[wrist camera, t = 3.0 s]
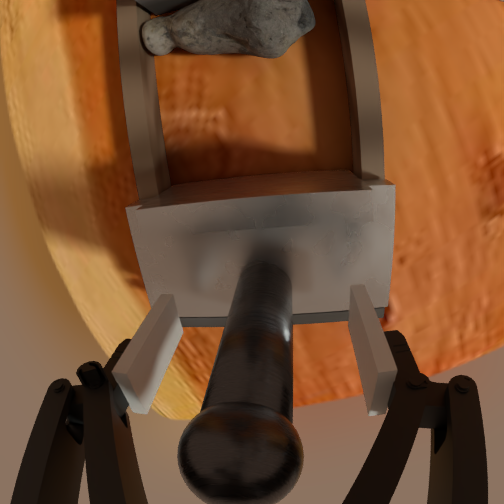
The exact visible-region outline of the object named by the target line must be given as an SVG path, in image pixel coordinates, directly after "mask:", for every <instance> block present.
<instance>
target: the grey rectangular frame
mask: <svg viewBox="0 0 504 504" xmlns="http://www.w3.org/2000/svg"><path fill="white" fill-rule="evenodd" d="M197 1H199V0H117V29H118V46H119V60H120V71H121V82H122V91H123V100H124V108H125V116H126V124H127V131H128V137H129V144H130V150H131V157H132V163H133V168H134V174H135V179H136V185H137V190H138V195H139V200H141V199H148V198H155V197H156V196H158V195H159V194H161V193H162V192H164V191H166V190H167V189H169V188H170V187H171V182H170V176H169V170H168V164H167V158H166V151H165V144H164V138H163V131H162V123H161V116H160V108H159V100H158V92H157V83H156V74H155V64H154V54H153V53H152V52H151V51H149V50H148V49H147V47H146V46H145V44H144V41H143V37H142V28H143V26H144V24H145V23H146V22H147V21H149V20H151V16H150V11H151V12H152V13H154V14H155V15H161V14H164V13H168V12H172V11H175V10H179V9H182V8H184V7H186V6H188V5H190V4H193V3H195V2H197ZM334 4H335V10H336V15H337V20H338V26H339V32H340V38H341V45H342V51H343V58H344V66H345V74H346V82H347V91H348V100H349V111H350V122H351V135H352V151H353V170H354V175H355V176H357V177H358V178H359V179H361V180H370V179H385V178H384V145H383V128H382V114H381V102H380V92H379V83H378V74H377V66H376V59H375V52H374V46H373V40H372V34H371V28H370V23H369V17H368V12H367V7H366V3H365V0H334ZM374 309H375V312H376V314H377V317H378V318H383V317H384V309H385V308H384V307H378V308H374ZM227 317H228V316H224V317H179V318H180V322H181V325H182V327H225V324H226V320H227ZM339 321H349V310H344V311H331V312H316V313H300V314H293V324H311V323H326V322H339Z"/></svg>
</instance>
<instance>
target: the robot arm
mask: <svg viewBox="0 0 504 504" xmlns="http://www.w3.org/2000/svg"><path fill="white" fill-rule="evenodd" d="M348 327H349V331H350V335H351V339H352V343H353V348H354V352H355V356H356V360H357V365H358V369H359V374H360V378H361V383H362V387H363V392H364V397H365V402H366V406H367V411H368V416H373V415H380V414H385V413H386V410H387V407H388V409H389V410H388V413H387V415H386V418H385V420H384V422H383V425H382V427H381V429H380V432H379V434H378V436H377V438H376V440H375V442H374V444H373V447H372V449H371V451H370V453H369V455H368V457H367V459H366V461H365V463H364V465H363V467H362V469H361V471H360V473H359V475H358V477H357V478H356V480H355V482H354V484H353V486H352V487H351V489H350V491H349V493H348V494H347V496H346V498H345V500H344V501H343V503H342V504H389V502H390V500H391V497H392V496H393V494H394V491H395V489H396V487H397V485H398V482H399V480H400V477H401V475H402V472H403V470H404V467H405V465H406V462H407V460H408V457H409V454H410V452H411V449H412V446H413V443H414V440H415V437H416V434H417V431H418V428H431V457H430V476H429V490H428V500H427V504H488V476H487V458H486V447H485V436H484V428H483V420H482V414H481V407H480V401H479V395H478V390H477V386H476V383H475V381H474V380H472V378H470V377H468V376H464V375H458V376H455V377H453V378H452V379H451V380H450V381H449V383H436V382H431V381H430V380H429V378H428V377H427V376H426V375H424V374H422V373H420V371H419V369H418V367H417V364H416V362H415V360H414V357H413V355H412V353H411V351H410V348H409V346H408V343H407V341H406V339H405V337H404V336H403V335H402V334H401V333H400V332H399V331H398V330H394V331H386V332H383V329H382V327H381V324H380V322H379V319H378V317H377V314H376V312H375V309H374V307H373V304H372V302H371V299H370V297H369V294H368V292H367V290H366V287H365V285H364V284H358V285H350V305H349V322H348ZM182 334H183V329H182V325H181V322H180V318H179V315H178V311H177V307H176V303H175V300H174V296H173V294H161V295H160V296H159V298H158V299H157V301H156V302H155V304H154V305H153V307H152V308H151V310H150V312H149V313H148V315H147V316H146V318H145V319H144V321H143V322H142V324H141V325H140V327H139V329H138V330H137V332H136V333H135V335H134V336H133V338H132V339H125V340H124V341H123V342H122V343H120V344H119V345H118V347H117V348H116V350H115V352H114V353H113V354H112V356H111V358H110V359H109V361H108V362H107V364H106V365H105V367H104V368H102V366H101V364H100V363H99V362H95V361H90V362H87V363H84V364H83V365H81V366H80V367H79V368H78V369H77V372H76V374H77V376H78V377H79V379H80V381H81V383H82V385H75V386H72V385H71V383H70V382H69V380H67V379H63V378H62V379H58V380H56V381H54V382H53V383H51V385H50V386H49V388H48V390H47V393H46V395H45V397H44V400H43V403H42V405H41V408H40V410H39V413H38V416H37V418H36V421H35V424H34V427H33V429H32V432H31V435H30V438H29V441H28V444H27V447H26V450H25V453H24V456H23V459H22V463H21V466H20V470H19V473H18V477H17V480H16V484H15V488H14V492H13V495H12V500H11V504H78V498H79V491H80V484H81V477H82V472H83V467H84V461H86V473H87V483H88V491H89V499H90V504H148V502H147V499H146V495H145V491H144V487H143V483H142V479H141V475H140V471H139V466H138V462H137V458H136V453H135V448H134V443H133V438H132V433H131V427H130V421H129V416H128V414H127V412H126V409H127V407H128V405H129V406H130V407H131V409H132V411H133V412H135V413H142V414H147V413H148V411H149V409H150V407H151V404H152V402H153V400H154V397H155V395H156V393H157V390H158V388H159V386H160V383H161V381H162V379H163V377H164V374H165V372H166V370H167V368H168V365H169V363H170V361H171V359H172V356H173V354H174V352H175V350H176V347H177V345H178V343H179V341H180V338H181V336H182ZM66 419H67V420H66Z"/></svg>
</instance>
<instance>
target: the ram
mask: <svg viewBox="0 0 504 504" xmlns="http://www.w3.org/2000/svg"><path fill="white" fill-rule="evenodd" d="M125 209H126V213H127V218H128V222H129V226H130V231H131V235H132V239H133V243H134V247H135V251H136V255H137V259H138V263H139V266H140V270H141V274H142V277H143V281H144V284H145V288H146V291H147V295H148V298H149V302H150V305H151V308H152V307H153V305H154V304H155V302H156V301H157V299H158V298H159V296H160V295H161V294H173V296H174V300H175V303H176V307H177V311H178V315H179V317H224V316H228V317H227V320H226V324H225V327H224V331H223V334H222V338H221V341H220V345H219V348H218V352H217V355H216V359H215V362H214V366H213V369H212V373H211V376H210V380H209V383H208V387H207V390H206V394H205V397H204V401H203V404H202V408H201V411H200V413H199V414H198V415H196V416H195V417H194V418H193V419H192V420H191V421H190V422H189V424H188V425H187V426H186V428H185V430H184V431H183V434H182V436H181V439H180V441H179V445H178V456H177V458H178V465H179V469H180V473H181V475H182V477H183V480H184V481H185V483H186V485H187V486H188V487H189V489H190V490H191V491H192V492H193V493H194V494H195V495H196V496H197V497H198V498H199V499H201V500H202V501H203V502H205V503H207V504H275V503H277V502H279V501H280V500H282V499H283V498H284V497H285V496H286V495H287V494H288V493H289V492H290V491H291V490H292V489H293V488H294V486H295V484H296V483H297V481H298V479H299V477H300V475H301V471H302V468H303V461H304V460H303V459H304V454H303V446H302V442H301V439H300V437H299V434H298V432H297V431H296V429H295V428H294V426H293V425H292V423H293V419H292V417H293V314H300V313H316V312H331V311H344V310H349V305H350V285H358V284H364V285H365V287H366V290H367V292H368V294H369V297H370V299H371V302H372V304H373V307H374V308H378V307H388V299H389V291H390V281H391V270H392V258H393V244H394V224H395V184H393V183H391V182H390V181H388V180H387V179H370V180H361V179H359V178H358V177H357V176H355V175H354V174H353V173H352V172H350V171H349V170H348V169H342V170H321V171H304V172H289V173H276V174H264V175H253V176H242V177H232V178H223V179H214V180H205V181H197V182H189V183H182V184H175V185H174V186H172V187H170V188H169V189H167V190H166V191H164V192H162V193H161V194H159V195H158V196H156V197H155V198H148V199H141V200H137V201H135V202H133V203H132V204H130V205H128V206H127V207H125Z"/></svg>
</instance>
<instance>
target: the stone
mask: <svg viewBox="0 0 504 504" xmlns="http://www.w3.org/2000/svg"><path fill="white" fill-rule="evenodd" d="M314 26H315V17H314V13H313V11H312V9H311V7H310V4H309V2H308V1H307V0H199V1H197V2H195V3H193V4H190V5H188V6H186V7H184V8H182V9H180V10H179V11H177V12H176V13H174V14H172V15H169V16H166V17H157V18H154V19H151V20H149V21H147V22H146V23H145V24H144V26H143V28H142V37H143V41H144V44H145V46H146V47H147V49H148V50H149V51H151V52H152V53H153V54H156V55H159V56H162V55H166V54H168V53H169V52H171V51H172V50H173V49H174V48H177V47H178V48H182V49H184V50H186V51H188V52H191V53H195V54H202V55H206V54H209V55H214V54H223V53H241V54H248V55H253V56H258V57H263V58H277V57H280V56H281V55H283V54H284V53H285V52H286V51H287V49H288V48H289V47H290V46H291V45H292V44H293V43H295V42H296V41H297V40H298V39H299V38H300V37H301V36H302V35H304V34H306V33H307V32H309V31H310V30H312V29H313V28H314Z"/></svg>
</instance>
